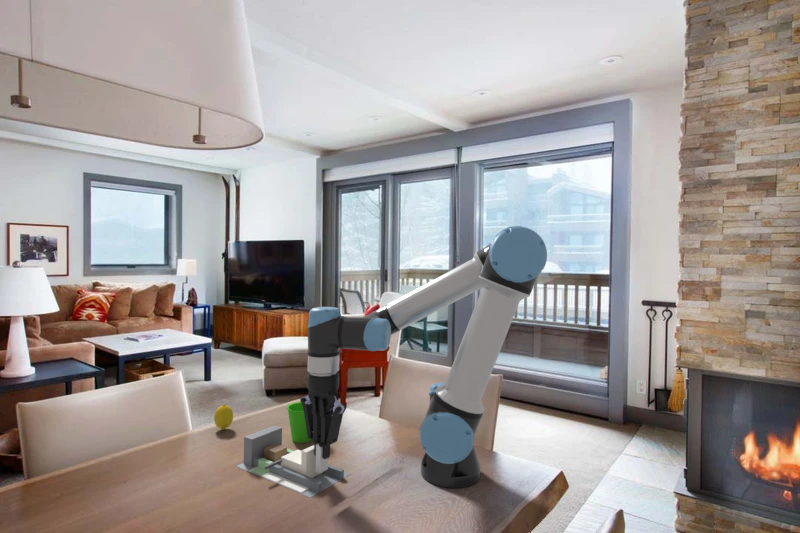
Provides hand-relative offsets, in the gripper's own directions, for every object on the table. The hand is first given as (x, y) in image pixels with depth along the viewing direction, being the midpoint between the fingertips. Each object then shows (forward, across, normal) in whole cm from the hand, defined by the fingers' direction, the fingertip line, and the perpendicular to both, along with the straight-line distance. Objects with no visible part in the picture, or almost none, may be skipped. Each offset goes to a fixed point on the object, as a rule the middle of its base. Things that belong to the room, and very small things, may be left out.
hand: (321, 470), depth 109 cm
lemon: (+4, +49, -8) cm, 50 cm away
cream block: (+2, +7, +3) cm, 8 cm away
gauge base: (+4, +10, 0) cm, 10 cm away
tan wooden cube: (+3, +16, 0) cm, 16 cm away
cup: (+4, +22, -15) cm, 27 cm away
